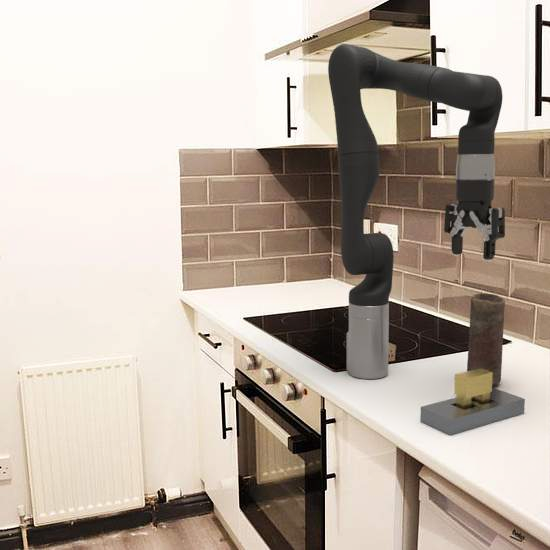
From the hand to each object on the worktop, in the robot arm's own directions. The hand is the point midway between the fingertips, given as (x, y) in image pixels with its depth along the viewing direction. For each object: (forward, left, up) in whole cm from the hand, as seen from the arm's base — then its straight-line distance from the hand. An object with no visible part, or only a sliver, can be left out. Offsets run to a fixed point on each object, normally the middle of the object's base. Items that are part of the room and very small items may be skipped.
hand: (472, 256), depth 144 cm
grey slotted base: (+9, -8, -30) cm, 32 cm away
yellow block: (+9, -8, -30) cm, 32 cm away
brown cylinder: (-4, +9, -30) cm, 32 cm away
